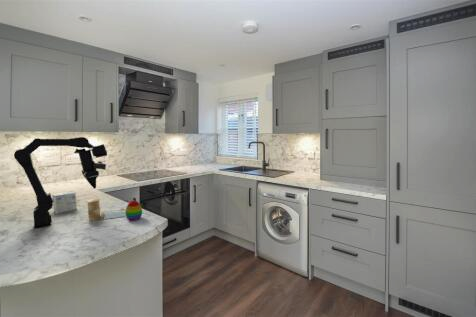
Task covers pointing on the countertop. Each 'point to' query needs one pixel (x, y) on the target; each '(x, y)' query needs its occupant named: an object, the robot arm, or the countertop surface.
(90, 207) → the oak block
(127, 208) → the decorative egg
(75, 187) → the countertop surface
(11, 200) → the countertop surface
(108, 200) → the countertop surface
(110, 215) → the slate mat
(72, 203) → the light bulb box
